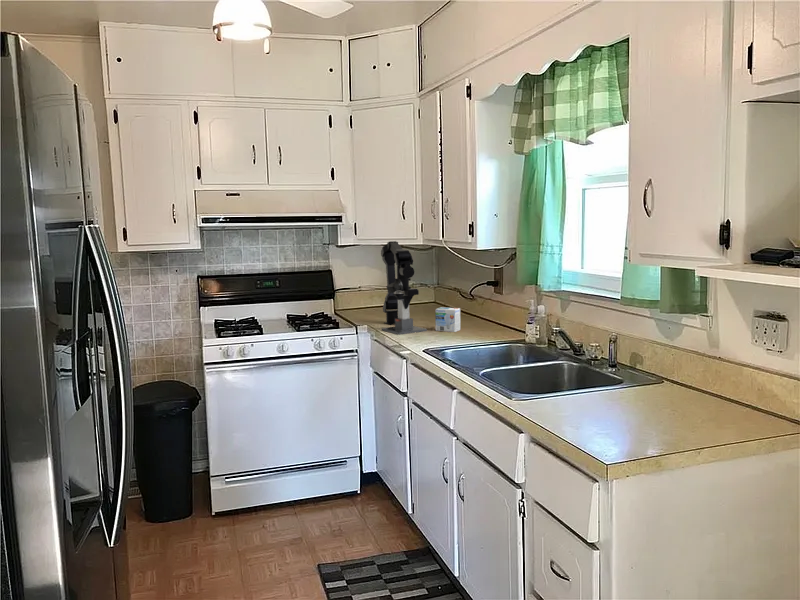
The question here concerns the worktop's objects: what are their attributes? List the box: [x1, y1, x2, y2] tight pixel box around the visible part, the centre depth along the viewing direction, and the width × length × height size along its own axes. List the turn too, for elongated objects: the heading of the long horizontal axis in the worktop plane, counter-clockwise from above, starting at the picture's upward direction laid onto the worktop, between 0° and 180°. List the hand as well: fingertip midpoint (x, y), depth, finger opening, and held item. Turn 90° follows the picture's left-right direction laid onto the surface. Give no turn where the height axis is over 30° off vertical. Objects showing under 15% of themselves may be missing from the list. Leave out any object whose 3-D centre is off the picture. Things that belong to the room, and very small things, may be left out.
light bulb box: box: [434, 306, 461, 333], centre depth 326 cm, size 11×7×11 cm, turn 62°
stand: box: [381, 317, 428, 336], centre depth 328 cm, size 16×16×6 cm
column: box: [398, 299, 411, 320], centre depth 327 cm, size 4×4×10 cm
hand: (403, 308), depth 327 cm, fingers closed on column, 4 cm apart
